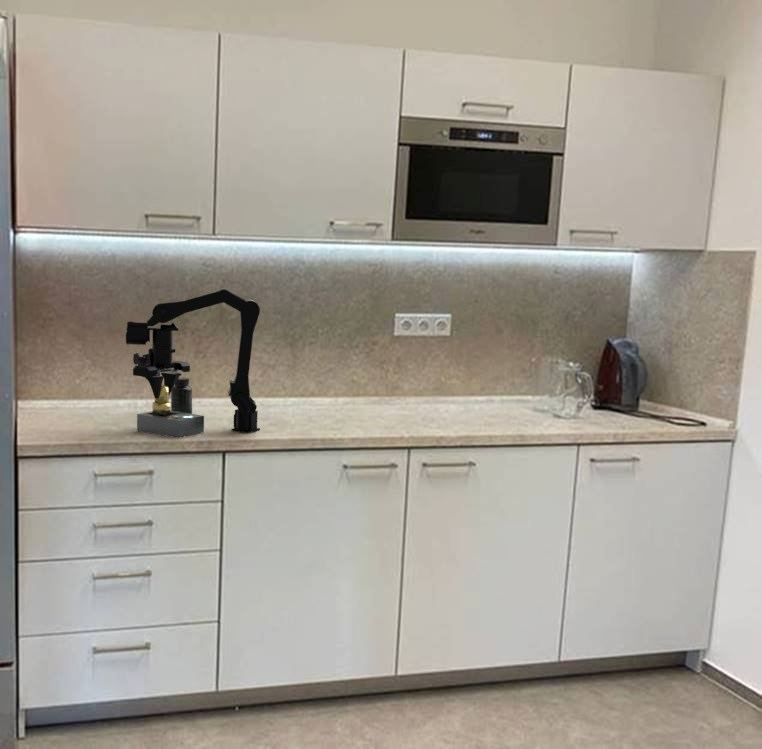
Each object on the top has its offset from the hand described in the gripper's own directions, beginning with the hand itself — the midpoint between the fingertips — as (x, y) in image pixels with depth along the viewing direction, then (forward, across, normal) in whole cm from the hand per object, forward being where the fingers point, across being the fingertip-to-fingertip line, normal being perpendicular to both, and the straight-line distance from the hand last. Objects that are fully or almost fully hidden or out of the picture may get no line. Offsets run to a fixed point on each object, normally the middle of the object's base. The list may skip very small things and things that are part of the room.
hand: (161, 397), depth 257 cm
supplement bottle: (+10, -24, -13) cm, 29 cm away
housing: (+10, 0, +3) cm, 10 cm away
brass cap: (+4, 0, 0) cm, 4 cm away
